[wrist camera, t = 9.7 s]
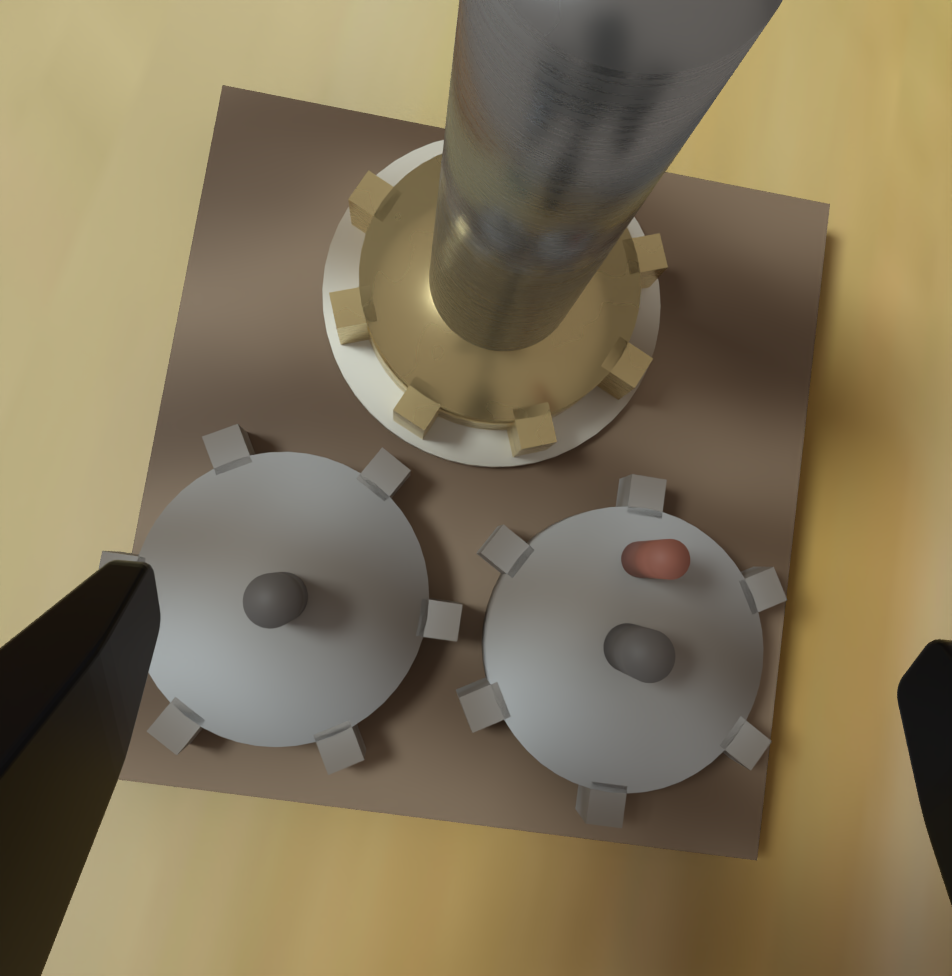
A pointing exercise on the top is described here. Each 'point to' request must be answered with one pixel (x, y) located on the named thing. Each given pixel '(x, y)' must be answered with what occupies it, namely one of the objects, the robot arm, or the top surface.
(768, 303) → the gear board
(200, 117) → the top surface
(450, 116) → the gear with grey post
